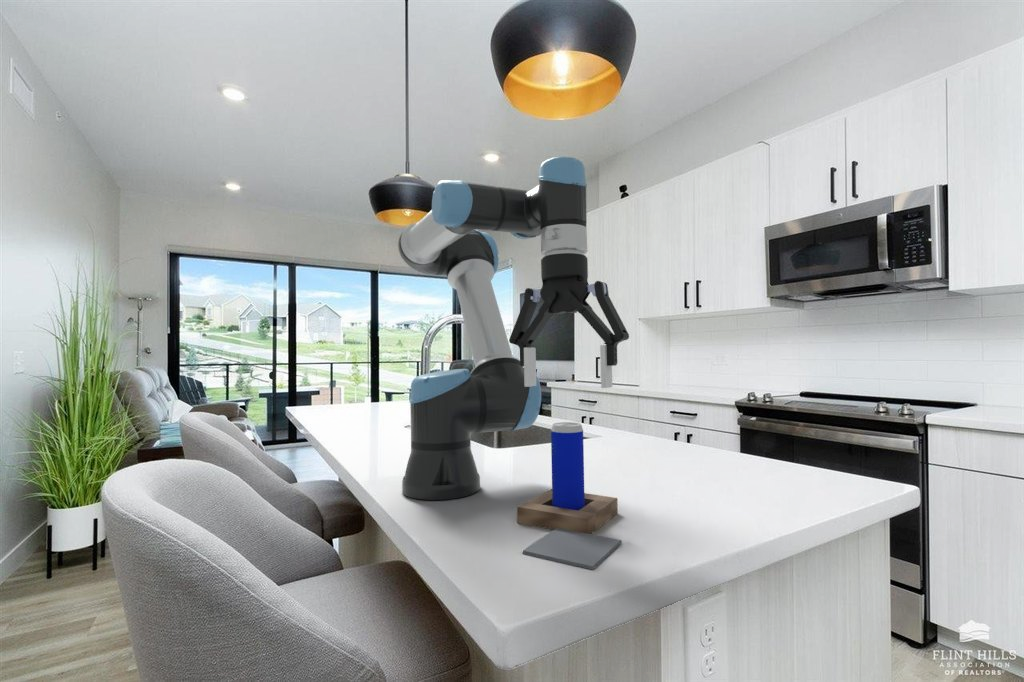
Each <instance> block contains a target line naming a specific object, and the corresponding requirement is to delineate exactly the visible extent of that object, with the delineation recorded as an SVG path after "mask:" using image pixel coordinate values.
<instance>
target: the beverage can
mask: <svg viewBox="0 0 1024 682" xmlns="http://www.w3.org/2000/svg"><path fill="white" fill-rule="evenodd" d="M583 429H584V428H583V426H582V424H581V423H578V422H570V421H569V422H568V421H564V422H555V423H553V424H552V426H551V428H550V443H551V444H550V445H551V446H550V448H551V451H550V452H551V453H550V454H551V489H552V506H553V507H559V508H565V509H571V510H577V511H578V510H580V509H582V508H583V507H585V499H584V493H585V465H584V464H585V462H584V461H585V460H584V459H585V457H584V448H585V447H584V430H583Z"/></svg>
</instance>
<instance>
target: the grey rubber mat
mask: <svg viewBox="0 0 1024 682" xmlns="http://www.w3.org/2000/svg"><path fill="white" fill-rule="evenodd" d="M621 544H622V539H617V538H613V537H608V536H604V535H603V536H602V535H597V534H594V533H592V534H587V533H582V532H577V531H572V530H567V529H561V528H556V529H554V530H553V529H552V530H551V531H550V532H549V533H547V534H545V535H543V536H542V537H541V538H539V539H538V540H536V541H534V542H533V543H531V544H530V545H528V546H526V547H525V548H524V549H523V550H522V554H523V555H528V556H531V557H536V558H540V559H541V558H542V559H545V560H549V561H554V562H557V563H558V562H559V563H561V564H562V563H563V564H566V565H571V566H575V567H580V568H584V569H588V570H594V569H595V568H596V567H598V566H599V564H601V563H602V562H603V561H604V560H605V559H606V558H607V557H609V555H611V553H613V552H614V551H615V549H617V547H619V546H620V545H621Z"/></svg>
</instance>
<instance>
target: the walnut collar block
mask: <svg viewBox="0 0 1024 682" xmlns="http://www.w3.org/2000/svg"><path fill="white" fill-rule="evenodd" d="M584 499H585V507H583V508H582V509H580V510H578V511H577V510H571V509H565V508H559V507H553V506H552V488H551V489H549V490H547V491H544V492H543V493H541V494H539V495H537V496H535V497H533V498H531V499H529V500H527V501H525V502H523V503H521V504H520V505H517V506H516V517H517V518H516V520H517V521H516V523H518V524H524V525H527V526H534V527H538V528H544V529H549V530H552V531H553V530H554V529H556V528H561V529H567V530H572V531H577V532H582V533H587V534H594V532H596V531H597V530H599V529H600V528H601V527H602V526H604V525H605V524H606V523H608V522H609V521H610V520H611V519H613V517H615V516H617V514H618V513H619V511H618V506H619V505H618V497H614V496H613V497H612V496H606V495H599V494H592V493H585V492H584Z"/></svg>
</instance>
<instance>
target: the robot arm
mask: <svg viewBox="0 0 1024 682" xmlns="http://www.w3.org/2000/svg"><path fill="white" fill-rule="evenodd" d="M537 180H538V182H539V184H537V185H536V186H535V187H533V188H531V189H530V190H526V189H517V188H510V187H504V186H494V185H489V184H481V183H474V182H468V181H464V180H459V179H457V180H451V179H450V180H448V179H445V180H443V179H442V180H440V181H438V183H437V184H435V187H434V191H433V193H432V199H431V210H430V211H429V212H428V213H426V215H424V216H423V218H422V219H420V220H419V221H416V222H412V223H410V224H408V226H406V227H405V228H404V229H403V230H402V232H401V233H400V235H399V237H398V242H397V247H398V248H397V249H398V252H399V255H400V257H401V259H402V260H403V261H404V263H405V264H406V265H407V266H409V267H410V268H411V269H413V270H415V271H417V272H418V273H422V274H425V275H431V276H445V277H446V279H447V282H448V284H449V286H450V287H451V288H452V289H454V290H455V291H456V293H457V297H458V302H459V305H460V306H459V307H460V310H461V315H462V319H463V323H464V327H465V331H466V336H467V339H468V344H469V347H470V351H471V356H472V361H473V364H474V367H473V368H472V369H471V371H470V369H468V368H456V369H447V370H440V371H435V372H430V373H425V374H421V375H418V376H416V377H414V378H413V379H412V381H411V384H410V394H409V395H410V396H409V397H410V398H409V403H410V454H409V458H408V461H407V464H406V469H405V473H404V476H403V477H402V481H401V482H402V485H401V489H402V490H401V492H402V494H403V496H406V497H409V498H412V499H416V500H427V501H441V500H442V501H444V500H453V499H459V498H460V499H461V498H465V497H467V496H470V495H473V494H476V493H477V492H478V491H480V489H481V476H480V473H479V471H478V469H477V465H476V462H475V458H474V455H473V453H472V446H471V443H472V442H471V436H472V434H477V433H491V432H503V431H505V432H506V431H507V432H508V431H511V432H514V431H517V430H521V429H528V428H530V427H531V426H532V425H533V424H534V423H535V422H536V420H537V419H538V416H539V414H540V409H541V404H542V389H541V383H540V380H539V378H538V376H537V354H536V353H537V351H536V347H533V344H534V342H535V341H536V340H537V338H538V336H539V335H540V333H541V332H542V331H543V329H544V328H545V327H546V325H547V324H548V322H549V321H550V319H551V318H552V317H554V316H555V315H556V314H558V315H563V314H566V313H567V314H568V313H569V314H570V313H571V314H577V313H579V314H580V315H581V316H582V317H583V318H584V320H585V321H586V322H588V325H589V326H591V328H592V329H593V330H594V331H595V333H597V335H598V336H599V337H600V338H601V339H602V340H603V342H604V343H603V344H600V345H599V349H600V351H599V352H600V380H601V381H600V383H601V384H600V386H601V387H600V388H601V389H609V388H613V367H614V366H617V365H618V345H619V343H621V342H624V341H628V340H629V338H630V335H629V332H628V330H627V328H626V327H625V325H624V323H623V321H622V319H621V317H620V315H619V313H618V311H617V309H616V307H615V306H614V303H613V301H612V300H611V298H610V296H609V287H608V284H607V282H603V281H600V280H596V281H595V282H594V283H591V284H589V282H588V277H589V270H588V269H589V267H588V266H589V265H588V257H587V256H586V254H587V253H588V235H587V234H588V233H587V187H588V186H587V182H586V172H585V165H584V164H583V161H581V160H580V159H579V158H576V157H570V156H556V157H551V158H548V159H547V160H545V161H542V163H541V164H540V166H539V173H538V177H537ZM481 230H482V231H481ZM485 231H494V232H503V233H510V234H511V235H513V236H514V237H516V238H517V239H521V240H527V239H531V238H536V237H539V236H540V253H541V255H542V256H543V257H542V258H541V260H540V269H541V270H540V271H541V272H540V275H541V278H540V279H541V282H542V285H541V289H535V288H530V287H528V288H527V287H526V288H525V290H524V297H523V298H524V300H523V303H522V306H521V309H520V311H519V313H518V316H517V319H516V321H515V324H514V326H513V329H512V331H511V334H510V336H509V338H508V336H507V332H506V329H505V325H504V321H503V318H502V316H501V315H502V314H501V311H500V308H499V304H498V301H497V298H496V295H495V290H494V287H493V284H492V280H493V278H494V276H495V274H496V272H497V271H498V268H499V261H500V259H499V257H498V255H499V249H498V246H497V245H498V244H497V243H496V241H495V239H494V237H493V236H492V235H491V234H489V233H488V232H485ZM590 294H592V296H593V297H595V298H596V300H597V303H598V305H599V307H600V308H601V311H602V312H603V314H604V316H605V318H606V320H607V322H608V325H609V326H610V328H611V329H610V328H609V327H608V326H607V325H606V323H604V321H603V320H602V319H601V318H600V317H599V316H598V315H597V314H596V312H595V311H594V310H593V309H594V308H592V306H591V305H590V303H588V302H587V298H589V295H590ZM541 299H542V300H543V303H542V305H541V306H540V308H539V309H538V313H537V314H536V315H535V317H534V319H533V320H532V318H533V315H534V314H535V311H536V309H537V306H538V302H540V300H541ZM612 331H613V332H612ZM510 344H512V345H515V346H518V348H519V359H518V358H517V357H514V356H513V354H512V348H511V345H510Z"/></svg>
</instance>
